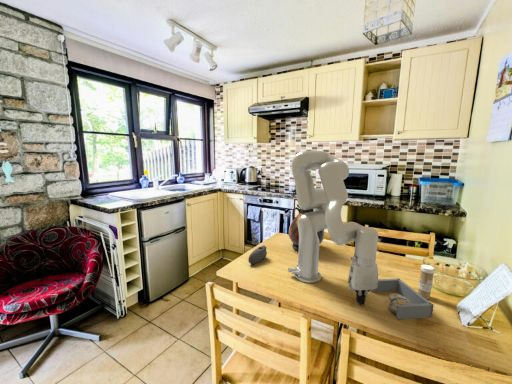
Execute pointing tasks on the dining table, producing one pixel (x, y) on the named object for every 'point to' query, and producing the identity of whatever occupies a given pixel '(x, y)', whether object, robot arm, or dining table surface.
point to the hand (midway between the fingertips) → (360, 302)
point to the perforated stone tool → (257, 255)
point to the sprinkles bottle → (426, 281)
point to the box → (419, 303)
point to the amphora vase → (295, 232)
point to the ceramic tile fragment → (396, 301)
